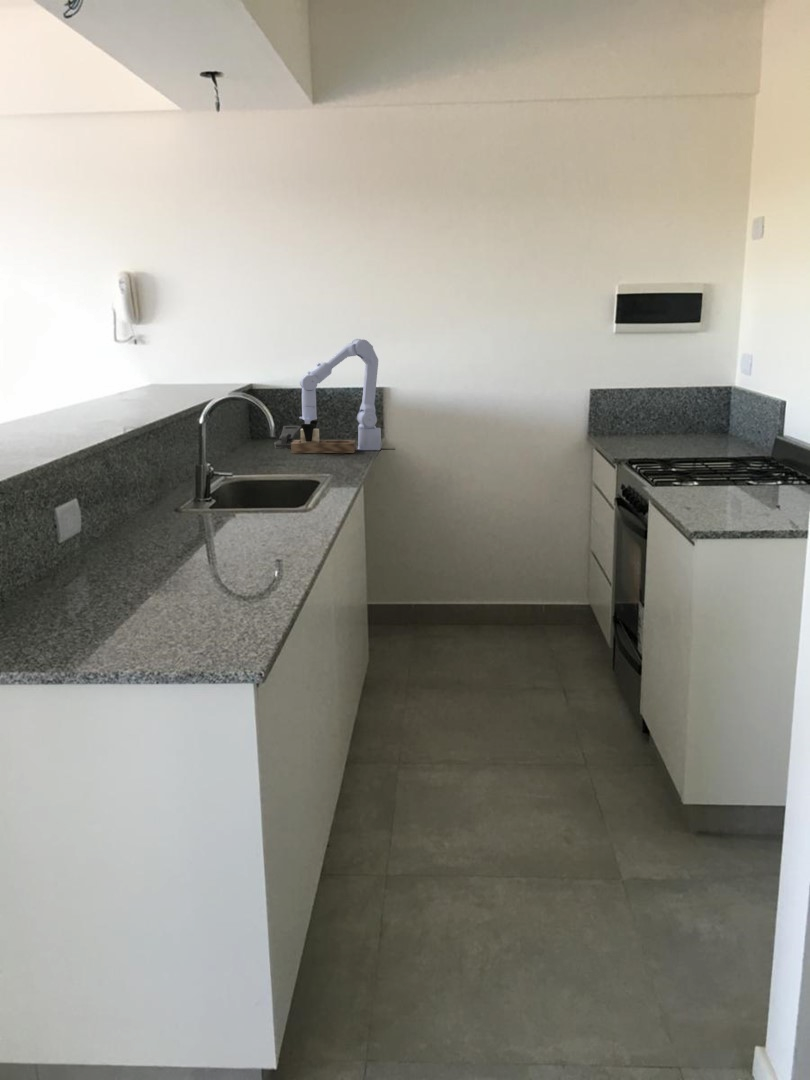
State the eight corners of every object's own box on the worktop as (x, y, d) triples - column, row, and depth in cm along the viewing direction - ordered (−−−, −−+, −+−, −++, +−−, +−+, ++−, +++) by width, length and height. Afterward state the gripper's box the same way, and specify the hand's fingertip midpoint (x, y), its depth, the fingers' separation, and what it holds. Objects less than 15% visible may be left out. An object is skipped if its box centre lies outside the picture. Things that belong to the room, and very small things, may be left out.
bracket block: (319, 448, 368) (319, 428, 366) (318, 449, 364) (317, 429, 362) (302, 448, 368) (301, 428, 366) (300, 449, 364) (300, 429, 362)
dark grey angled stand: (302, 425, 397) (294, 432, 373) (303, 440, 399) (294, 449, 374) (282, 425, 397) (272, 432, 373) (282, 440, 399) (272, 448, 375)
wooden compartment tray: (355, 449, 371) (355, 440, 370) (354, 453, 361) (353, 443, 360) (294, 449, 371) (294, 439, 370) (291, 453, 362) (290, 443, 361)
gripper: (301, 404, 369) (302, 437, 372) (296, 407, 355) (297, 442, 358) (318, 404, 369) (319, 437, 372) (314, 407, 355) (315, 442, 358)
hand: (309, 439), depth 365 cm, fingers open, 7 cm apart
